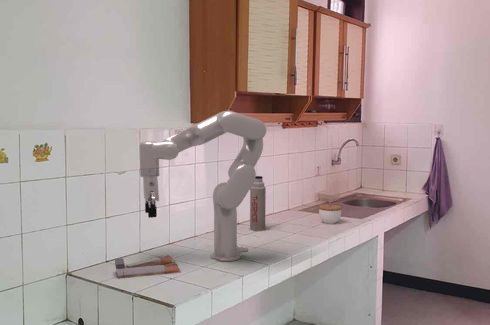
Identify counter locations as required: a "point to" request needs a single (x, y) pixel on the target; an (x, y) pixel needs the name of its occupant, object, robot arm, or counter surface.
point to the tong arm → (151, 262)
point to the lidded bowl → (330, 213)
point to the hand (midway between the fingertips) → (150, 214)
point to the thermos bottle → (257, 205)
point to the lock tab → (119, 263)
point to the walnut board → (153, 274)
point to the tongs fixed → (147, 270)
